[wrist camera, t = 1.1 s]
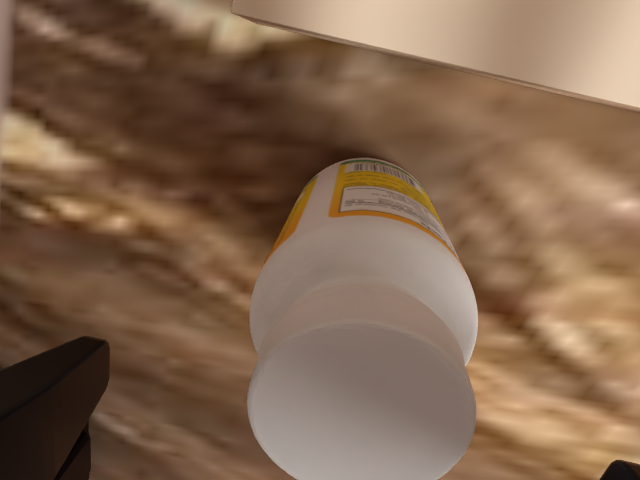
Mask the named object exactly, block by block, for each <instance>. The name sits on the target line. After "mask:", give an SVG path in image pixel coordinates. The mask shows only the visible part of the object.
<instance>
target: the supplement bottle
mask: <svg viewBox="0 0 640 480" xmlns="http://www.w3.org/2000/svg"><path fill="white" fill-rule="evenodd" d="M250 330H251V336H252V340H253V344H254V347H255V350H256V352H257V355H258V360H257V363H256V366H255V368H254V371H253V374H252V377H251V380H250V385H249V390H248V396H247V409H248V416H249V420H250V425H251V427H252V430H253V433H254V435H255V437H256V439H257V441H258V442H259V444H260V446H261V447H262V448H263V450H264V451H265V452H266V453H267V455H268V456H269V457H270V458H271V459H272V460H273V461H274V462H275V463H276V464H277V465H278V466H279V467H280V468H281V469H283V470H284V471H286V472H287V473H288V474H290V475H291V476H293V477H294V478H296V479H298V480H437V479H439V478H440V477H442V476H443V475H444V474H446V473H447V472H448V471H449V470H450V469H451V468H452V467H453V466H454V465H455V464H456V463H457V462H458V461H459V460H460V459H461V458H462V456H463V455H464V453H465V452H466V450H467V448H468V447H469V445H470V443H471V440H472V437H473V434H474V429H475V423H476V402H475V396H474V393H473V389H472V386H471V383H470V379H469V376H468V373H467V369H466V365H467V363H468V361H469V359H470V357H471V355H472V352H473V349H474V345H475V342H476V337H477V330H478V313H477V305H476V300H475V295H474V292H473V289H472V286H471V284H470V281H469V279H468V276H467V274H466V272H465V270H464V268H463V266H462V264H461V262H460V260H459V258H458V256H457V254H456V252H455V250H454V248H453V246H452V244H451V242H450V240H449V237H448V235H447V234H446V232H445V229H444V227H443V225H442V223H441V221H440V218H439V217H438V215H437V213H436V211H435V209H434V207H433V205H432V202H431V200H430V199H429V197H428V195H427V193H426V192H425V190H424V188H423V187H422V186H421V185H420V183H419V182H418V181H417V180H416V179H415V178H414V177H413V176H412V175H411V174H409V173H408V172H407V171H405V170H404V169H402V168H401V167H399V166H396V165H394V164H392V163H389V162H387V161H383V160H380V159H373V158H353V159H348V160H344V161H340V162H337V163H335V164H333V165H331V166H329V167H327V168H325V169H323V170H322V171H321V172H319V173H318V174H317V175H316V176H314V177H313V178H312V179H311V180H310V181H309V183H308V184H307V185H306V186H305V188H304V189H303V190H302V192H301V194H300V195H299V197H298V199H297V201H296V203H295V205H294V207H293V209H292V211H291V213H290V215H289V217H288V219H287V221H286V223H285V225H284V227H283V229H282V231H281V233H280V235H279V237H278V238H277V240H276V242H275V244H274V246H273V248H272V250H271V252H270V253H269V255H268V256H267V259H266V260H265V262H264V265H263V267H262V269H261V272H260V274H259V276H258V278H257V281H256V284H255V287H254V290H253V294H252V297H251V303H250Z"/></svg>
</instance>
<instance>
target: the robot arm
mask: <svg viewBox="0 0 640 480" xmlns="http://www.w3.org/2000/svg"><path fill="white" fill-rule="evenodd" d="M109 369H110V346H109V343H108V342H107V341H106V340H103V339H99V338H95V337H90V336H82V337H79V338H76V339H74V340H72V341H69V342H67V343H64V344H62V345H60V346H57V347H55V348H52V349H50V350H48V351H45V352H43V353H40V354H38V355H35V356H33V357H31V358H28V359H26V360H23V361H21V362H19V363H16V364H14V365H11V366H9V367H7V368H4V369H2V370H0V480H89V472H90V470H91V449H90V436H89V433H88V419H89V418H90V416H91V414H92V413H93V411H94V409H95V407H96V406H97V404H98V402H99V400H100V399H101V397H102V395H103V393H104V392H105V390H106V387H107V385H108V381H109ZM599 480H640V465H639V464H636V463H632V462H627V461H623V460H616V461H613V462H612V463H611V464H610V465H609V467H608V468H607V469H606V471H605V472H604V474H603V475H602V477H601V478H600V479H599Z"/></svg>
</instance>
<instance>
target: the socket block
mask: <svg viewBox="0 0 640 480" xmlns="http://www.w3.org/2000/svg"><path fill="white" fill-rule="evenodd" d="M231 13H233V14H236V15H238V16H240V17H243V18H245V19H247V20H250V21H252V22H254V23H257V24H261V25H265V26H269V27H273V28H278V29H282V30H286V31H291V32H295V33H299V34H304V35H308V36H312V37H316V38H321V39H325V40H329V41H334V42H338V43H342V44H346V45H351V46H355V47H359V48H364V49H368V50H372V51H377V52H381V53H385V54H389V55H394V56H398V57H402V58H407V59H411V60H415V61H419V62H424V63H428V64H432V65H437V66H441V67H445V68H450V69H454V70H458V71H462V72H467V73H471V74H475V75H480V76H484V77H488V78H492V79H497V80H501V81H505V82H510V83H514V84H518V85H523V86H527V87H531V88H535V89H540V90H544V91H548V92H553V93H557V94H561V95H565V96H570V97H574V98H578V99H583V100H587V101H591V102H596V103H600V104H604V105H608V106H613V107H617V108H621V109H626V110H630V111H634V112H638V113H640V0H233V1H232V10H231Z"/></svg>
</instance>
